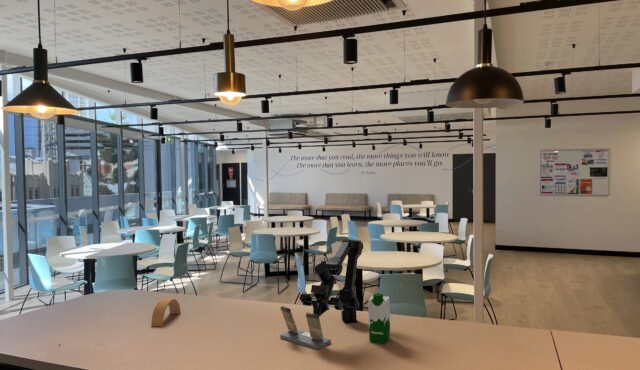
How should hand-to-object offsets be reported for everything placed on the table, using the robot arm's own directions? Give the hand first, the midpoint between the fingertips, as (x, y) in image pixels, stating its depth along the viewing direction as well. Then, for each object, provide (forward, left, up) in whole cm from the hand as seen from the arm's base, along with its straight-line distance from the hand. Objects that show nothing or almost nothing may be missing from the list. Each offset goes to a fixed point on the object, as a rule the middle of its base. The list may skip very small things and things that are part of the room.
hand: (314, 319), depth 184 cm
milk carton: (-28, -1, -11) cm, 30 cm away
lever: (+8, -12, -9) cm, 17 cm away
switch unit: (+3, -7, -11) cm, 13 cm away
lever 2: (-1, -2, -9) cm, 9 cm away
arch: (+68, -50, -11) cm, 85 cm away
